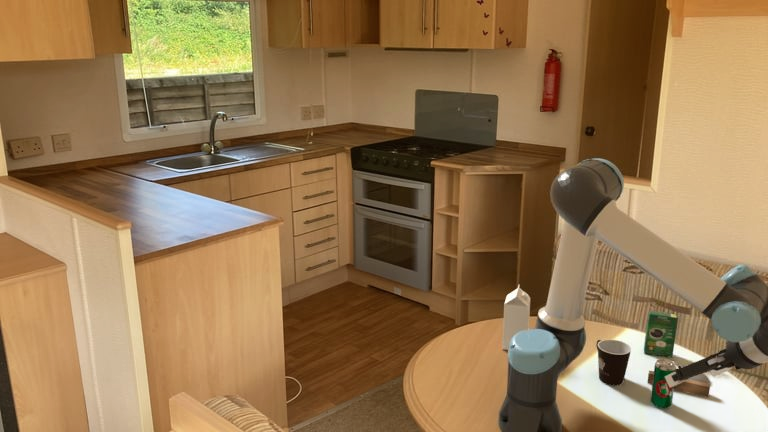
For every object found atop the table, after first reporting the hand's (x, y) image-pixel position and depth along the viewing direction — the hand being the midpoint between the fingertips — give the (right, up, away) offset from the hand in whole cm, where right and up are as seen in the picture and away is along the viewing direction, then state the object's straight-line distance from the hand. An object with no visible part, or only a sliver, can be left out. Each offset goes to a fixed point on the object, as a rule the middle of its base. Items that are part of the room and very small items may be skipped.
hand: (690, 376), depth 155 cm
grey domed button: (+11, -6, +21) cm, 24 cm away
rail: (+5, -7, +17) cm, 19 cm away
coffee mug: (-11, -6, +23) cm, 26 cm away
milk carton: (-34, -1, +41) cm, 53 cm away
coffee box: (+7, -2, +35) cm, 36 cm away
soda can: (-3, -10, +10) cm, 14 cm away
